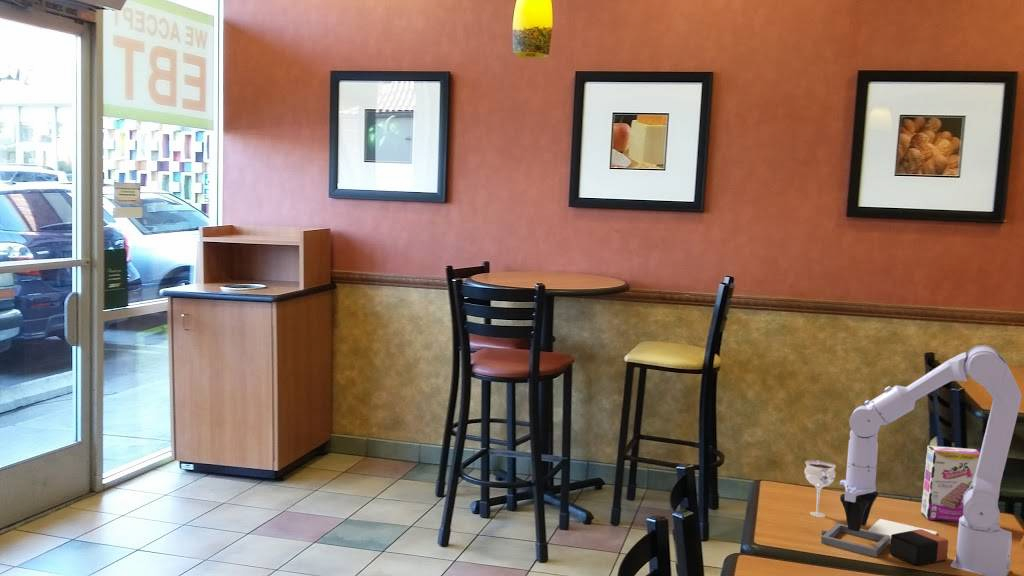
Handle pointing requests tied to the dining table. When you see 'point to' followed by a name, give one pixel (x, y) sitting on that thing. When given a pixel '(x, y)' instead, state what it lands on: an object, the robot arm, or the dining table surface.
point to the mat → (893, 528)
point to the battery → (919, 547)
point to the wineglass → (819, 477)
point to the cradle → (874, 552)
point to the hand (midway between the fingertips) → (856, 527)
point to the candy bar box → (947, 481)
